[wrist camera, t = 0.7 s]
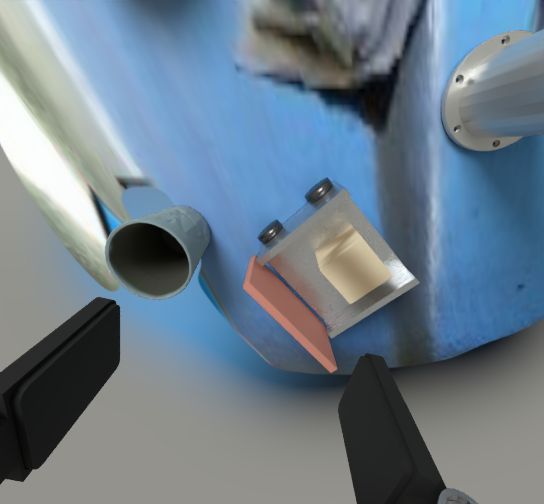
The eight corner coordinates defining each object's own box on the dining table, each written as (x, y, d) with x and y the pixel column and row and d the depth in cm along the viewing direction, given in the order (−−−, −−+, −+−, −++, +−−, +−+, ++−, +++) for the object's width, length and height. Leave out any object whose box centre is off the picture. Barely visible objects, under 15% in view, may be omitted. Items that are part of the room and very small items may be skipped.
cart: (328, 173, 37) (339, 179, 29) (399, 263, 41) (424, 289, 34) (256, 235, 41) (249, 254, 33) (328, 311, 45) (336, 343, 38)
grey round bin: (152, 196, 39) (99, 215, 28) (218, 204, 39) (191, 226, 28) (156, 257, 43) (110, 295, 32) (216, 265, 43) (191, 305, 32)
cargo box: (350, 224, 34) (363, 238, 28) (376, 256, 35) (393, 275, 30) (314, 251, 36) (319, 270, 30) (340, 281, 37) (350, 304, 32)
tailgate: (255, 254, 37) (249, 282, 28) (324, 325, 41) (337, 369, 32) (248, 260, 37) (240, 289, 29) (317, 330, 41) (328, 374, 33)
